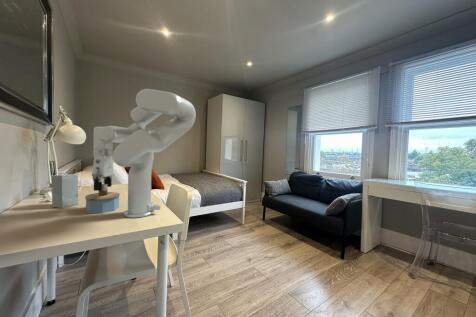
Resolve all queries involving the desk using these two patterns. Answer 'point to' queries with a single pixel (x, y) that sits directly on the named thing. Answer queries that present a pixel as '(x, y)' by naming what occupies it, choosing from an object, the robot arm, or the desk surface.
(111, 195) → the walnut lid
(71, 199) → the skincare box
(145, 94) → the robot arm
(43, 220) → the desk surface
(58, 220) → the desk surface
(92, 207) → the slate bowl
